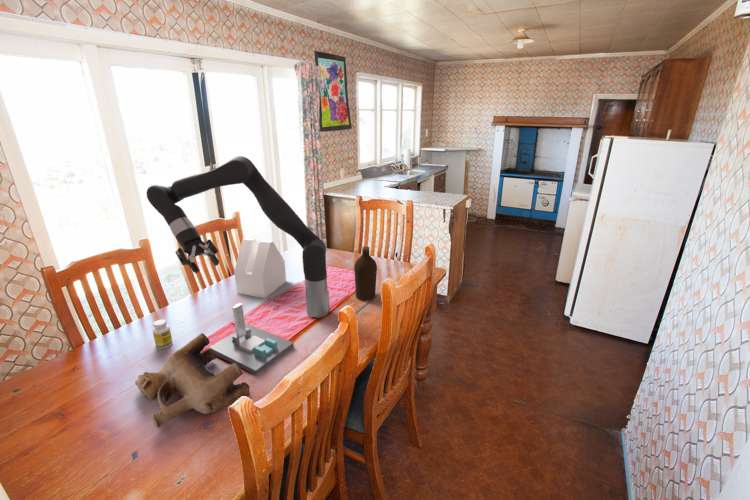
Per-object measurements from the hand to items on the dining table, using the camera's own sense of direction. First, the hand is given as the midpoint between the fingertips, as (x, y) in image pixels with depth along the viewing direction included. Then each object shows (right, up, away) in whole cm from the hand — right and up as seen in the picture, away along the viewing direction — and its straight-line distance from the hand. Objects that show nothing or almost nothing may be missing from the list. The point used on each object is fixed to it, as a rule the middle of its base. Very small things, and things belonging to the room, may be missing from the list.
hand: (207, 268), depth 133 cm
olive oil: (+58, -16, +38) cm, 71 cm away
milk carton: (+6, -12, +45) cm, 47 cm away
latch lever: (+13, -25, -1) cm, 28 cm away
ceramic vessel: (+6, -38, -23) cm, 45 cm away
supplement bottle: (-16, -29, 0) cm, 33 cm away
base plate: (+17, -30, -2) cm, 35 cm away
